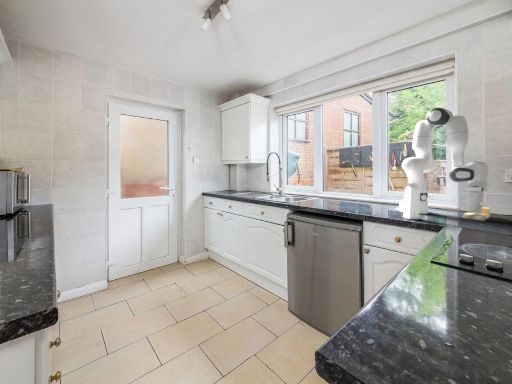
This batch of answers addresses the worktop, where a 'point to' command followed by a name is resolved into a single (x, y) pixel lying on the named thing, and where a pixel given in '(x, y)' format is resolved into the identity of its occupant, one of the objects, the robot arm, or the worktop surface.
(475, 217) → the base board
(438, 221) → the worktop surface
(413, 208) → the milk
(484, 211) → the orange block
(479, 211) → the sage block
